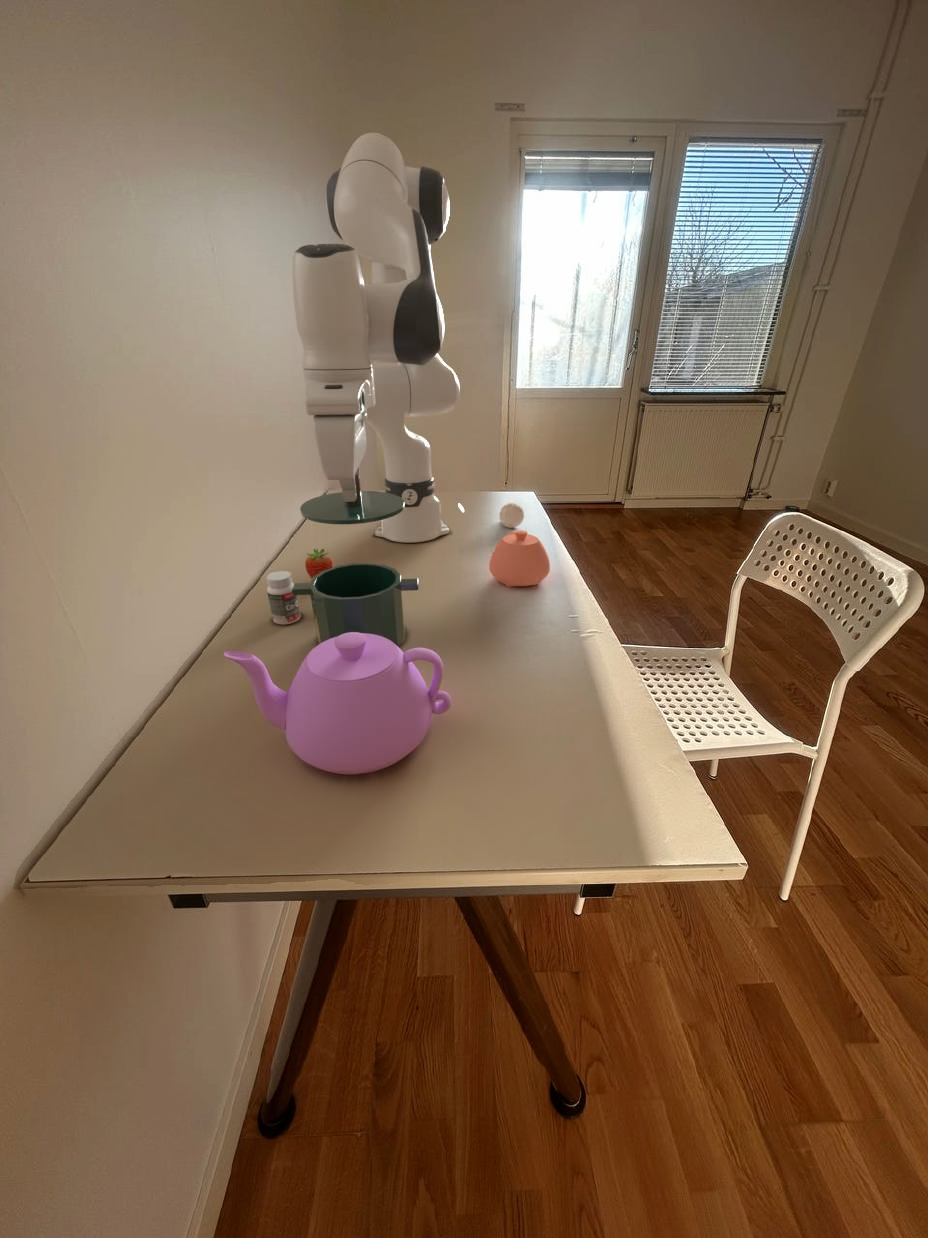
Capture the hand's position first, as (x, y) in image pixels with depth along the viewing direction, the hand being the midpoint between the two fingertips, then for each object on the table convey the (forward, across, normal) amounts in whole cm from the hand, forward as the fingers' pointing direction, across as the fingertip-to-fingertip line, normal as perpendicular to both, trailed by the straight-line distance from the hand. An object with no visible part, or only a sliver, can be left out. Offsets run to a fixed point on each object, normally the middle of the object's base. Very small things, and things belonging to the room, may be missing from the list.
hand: (352, 496), depth 74 cm
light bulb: (+24, -57, +33) cm, 70 cm away
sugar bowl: (+24, -22, +29) cm, 43 cm away
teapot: (+24, +24, 0) cm, 34 cm away
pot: (+24, 0, -1) cm, 24 cm away
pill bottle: (+24, -8, -15) cm, 29 cm away
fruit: (+24, -22, -11) cm, 34 cm away
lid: (+2, 0, 0) cm, 2 cm away
